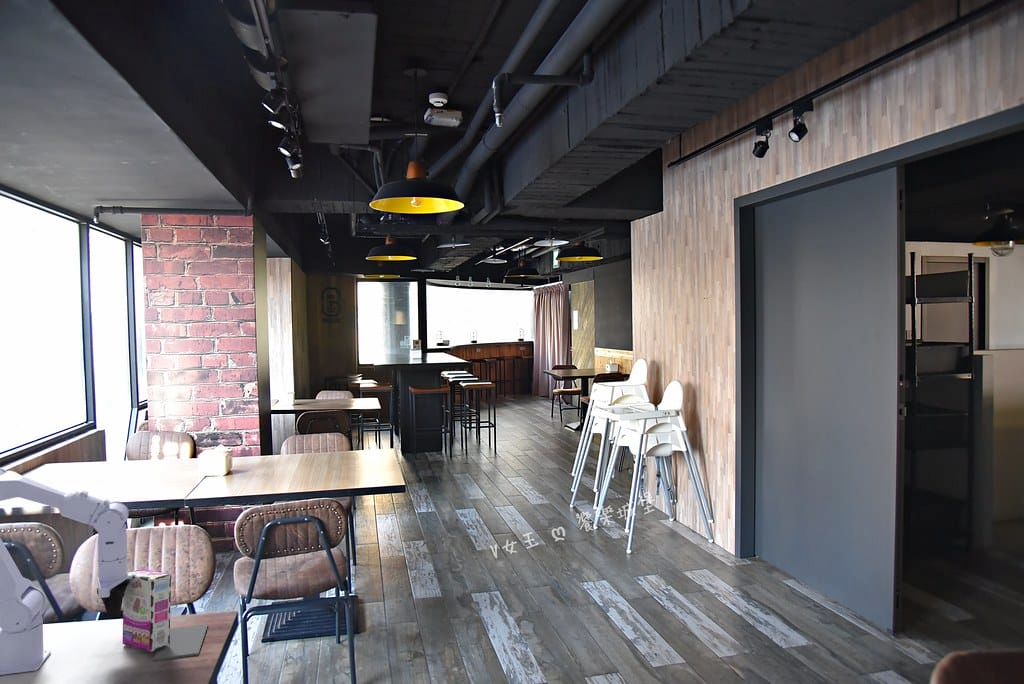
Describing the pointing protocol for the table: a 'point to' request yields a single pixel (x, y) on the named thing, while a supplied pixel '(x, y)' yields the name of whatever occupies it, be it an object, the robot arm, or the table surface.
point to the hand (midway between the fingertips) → (113, 615)
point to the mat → (183, 642)
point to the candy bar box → (147, 610)
